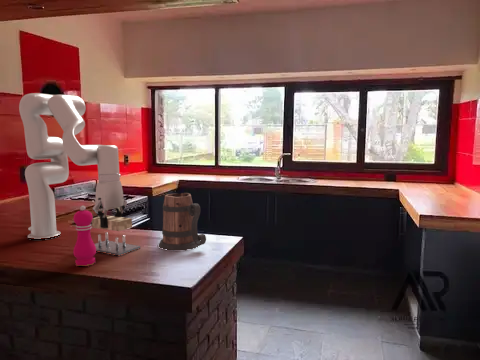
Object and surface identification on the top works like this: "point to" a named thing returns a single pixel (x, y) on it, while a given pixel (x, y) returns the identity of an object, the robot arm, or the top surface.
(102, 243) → the chassis
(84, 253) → the pepper mill
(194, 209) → the tankard
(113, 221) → the tan rectangular block
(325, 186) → the top surface
